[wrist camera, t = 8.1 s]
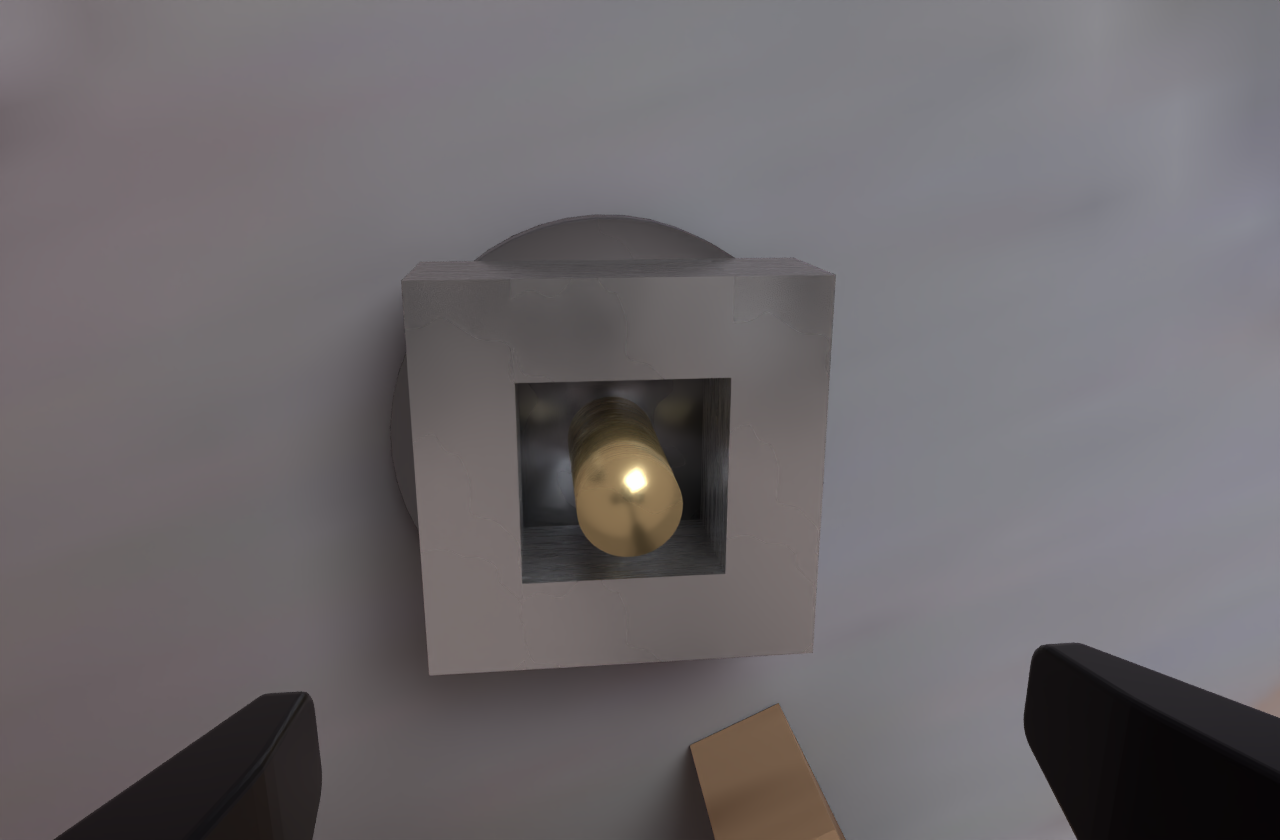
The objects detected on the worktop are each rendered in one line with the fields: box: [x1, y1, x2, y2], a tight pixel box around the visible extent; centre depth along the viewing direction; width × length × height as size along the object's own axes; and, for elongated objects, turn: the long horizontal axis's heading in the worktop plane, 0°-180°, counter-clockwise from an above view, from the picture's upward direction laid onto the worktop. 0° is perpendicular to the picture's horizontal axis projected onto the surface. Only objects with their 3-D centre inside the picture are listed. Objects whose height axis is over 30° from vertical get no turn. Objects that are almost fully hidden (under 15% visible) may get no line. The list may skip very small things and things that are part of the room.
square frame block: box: [401, 258, 836, 676], centre depth 16 cm, size 7×7×2 cm
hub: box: [390, 215, 734, 557], centre depth 16 cm, size 8×8×5 cm
